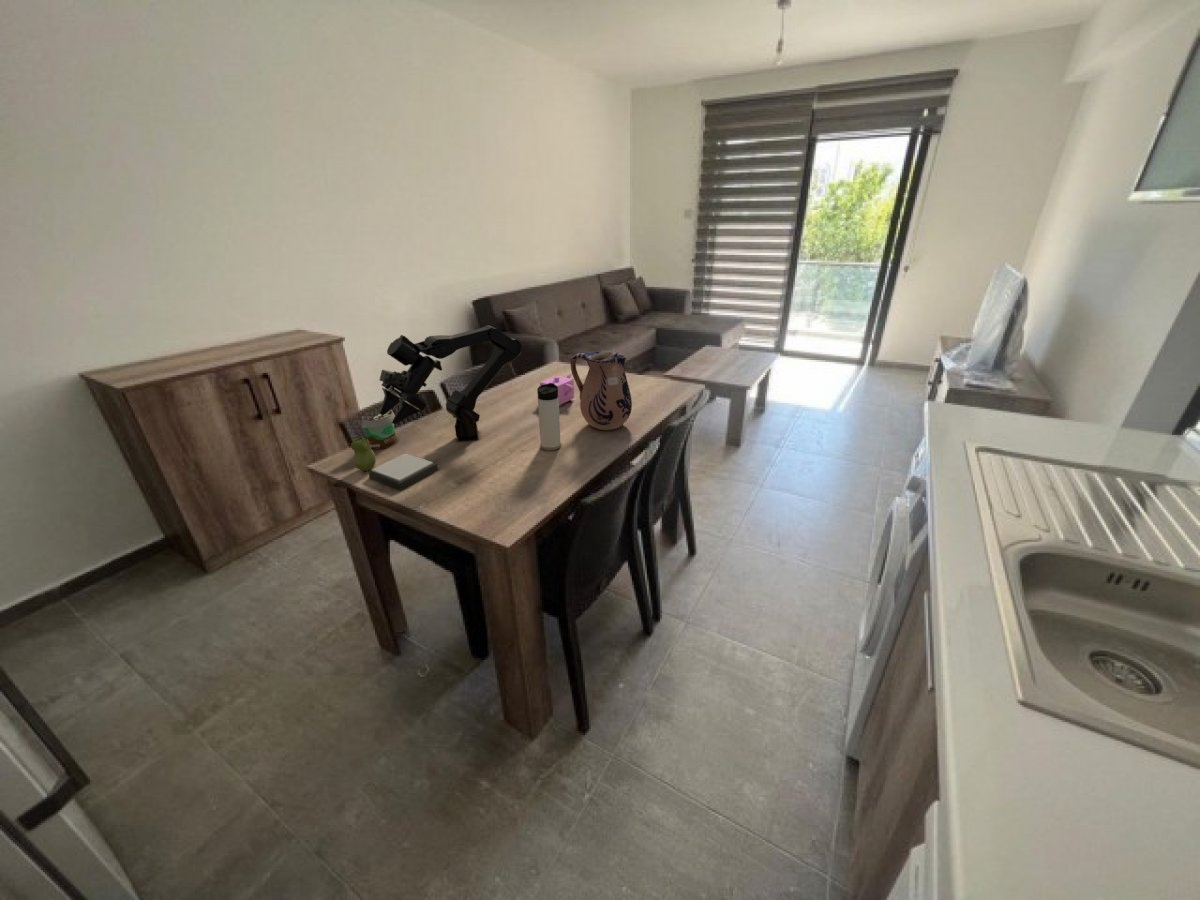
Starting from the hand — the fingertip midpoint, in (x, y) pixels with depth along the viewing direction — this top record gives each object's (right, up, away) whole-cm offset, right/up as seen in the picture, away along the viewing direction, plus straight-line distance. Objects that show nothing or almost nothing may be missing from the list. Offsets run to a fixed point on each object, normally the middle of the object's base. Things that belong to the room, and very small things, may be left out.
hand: (387, 419), depth 138 cm
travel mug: (+46, -8, +14) cm, 49 cm away
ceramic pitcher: (+62, 0, +29) cm, 68 cm away
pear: (-6, -15, +1) cm, 16 cm away
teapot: (+46, +10, +49) cm, 68 cm away
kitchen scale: (+6, -16, -2) cm, 17 cm away
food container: (-7, -7, +16) cm, 19 cm away
